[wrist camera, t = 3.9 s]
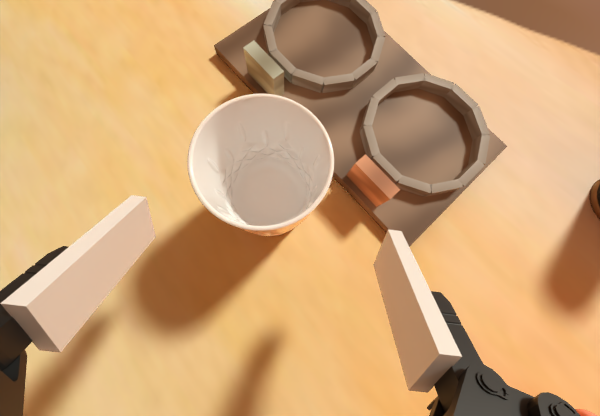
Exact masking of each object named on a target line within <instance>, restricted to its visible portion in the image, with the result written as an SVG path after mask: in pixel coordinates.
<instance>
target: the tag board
mask: <svg viewBox="0 0 600 416" xmlns="http://www.w3.org/2000/svg"><path fill="white" fill-rule="evenodd" d="M376 11H377V10H376V9H375V8H374V7H372V6H371V5H370V4H369V3H368V2H367V1H366V0H274V1H273V3H272V5H271V8H270V9H268V10H267V11H265V12H264V13H262V14H261V15H259V16H258V17H256V18H255V19H253V20H252V21H250V22H249V23H247V24H246V25H244V26H243V27H241V28H240V29H238V30H237V31H235V32H234V33H232V34H231V35H229V36H228V37H226V38H225V39H223V40H222V41H220V42H219V43H217V44H216V45H214V47H215V50H216V53H217V55H218V56H219V57H220V58H221V59H222V60H223V61H224V62H225V63H226V64H227V65H228V66H229V67H230V68H231V69H232V70H233V71H234V72H235V73H236V75H237V76H238V77H239V78H240V79H241V80H242V81H243V82H244V83H245V84H246V85H247V86H248V87H249V88H250V89H251V90H252V91H253V92H254V93H255V94H273V95H278V96H282V97H286V98H288V99H291V100H293V101H295V102H297V103H299V104H301V105H302V106H304V107H305V108H307V109H308V110H309V111H310V112H312V113H313V114H314V115H315V116H316V117H317V118H318V120H319V121H320V122H321V123H322V125H323V126H324V128H325V130H326V131H327V133H328V136H329V138H330V141H331V144H332V148H333V153H334V171H333V177H334V178H335V179H336V180H337V181H338V182H339V183H340V184H341V185H342V186H343V187H344V188H345V189H346V190H347V191H348V192H349V194H350V195H351V196H352V197H353V198H354V199H355V200H356V201H357V202H358V203H359V204H360V205H361V206H362V207H363V208H364V209H365V210H366V211H367V212H368V214H369V215H370V216H371V217H372V218H373V219H374V220H375V221H376V222H377V223H378V224H379V225H380V226H381V227H382V228H383V229H384V230H385V231H386V232H387V231H388V229H389V230H397V231H402V233H403V235H404V237H405V239H406V241H407V243H408V245H409V247H410V246H411V244H412V243H413V242H414V241H415V240H416V239H417V238H418V237H419V236H420V235H421V234H422V233H423V232H424V231H425V230H426V229H427V228H428V227H429V226H430V225H431V224H432V223H433V222H434V221H435V220H436V219H437V218H438V217H439V216H440V215H441V214H442V213H443V212H444V211H445V210H446V209H447V207H448V206H449V205H450V204H451V203H452V202H453V201H454V200H455V199H456V198H457V197H458V196H459V195H460V194H461V193H462V192H463V191H464V190H465V189H466V188H467V187H468V186H469V185H470V184H471V183H472V182H473V181H474V180H475V179H476V178H477V177H478V176H479V175H480V174H481V173H482V172H483V171H484V169H485V168H486V167H487V166H488V165H489V164H490V163H491V162H492V161H493V160H494V159H495V158H496V157H497V156H498V155H499V154H500V153H501V152H502V151H503V150H504V149H505V148H506V147H507V146H506V145H505V144H504V143H503V142H502V141H501V140H500V139H499V138H498V137H497V136H496V135H495V134H494V133H492V132H491V131H490V130H489V129H488V128H487V125H486V123H485V120H484V117H483V115H482V112H481V110H480V107H479V106H478V104H477V103H476V102H475V101H474V100H473V99H471V98H470V97H469V96H468V95H467V94H466V93H465V92H464V91H463V90H462V89H461V88H460V87H459V86H457V85H456V84H455V85H454V83H453V82H450V81H447V80H444V79H441V78H438V77H435V76H432V75H431V74H429V73H428V72H427V71H426V70H425V69H424V68H423V67H422V66H421V65H420V64H419V63H418V62H417V61H416V60H415V59H413V58H412V57H411V56H410V55H409V54H408V53H407V52H406V51H405V50H404V49H403V48H402V47H401V46H400V45H399V44H397V43H396V42H395V41H394V40H393V39H392V38H391V37H390V36H389V35H388V34H387V33H386V32H385V31H384V30H383V27H382V24H381V21H380V18H379V15H378V12H376Z"/></svg>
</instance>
